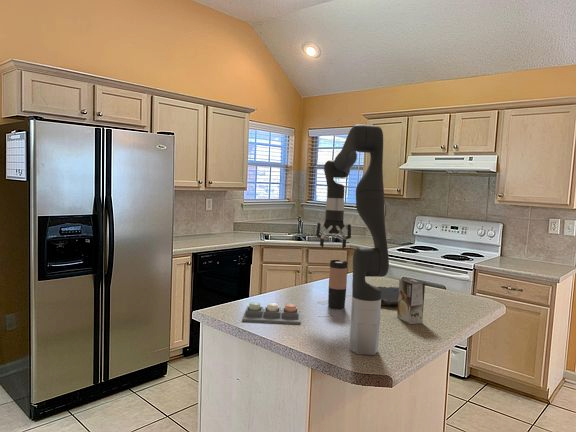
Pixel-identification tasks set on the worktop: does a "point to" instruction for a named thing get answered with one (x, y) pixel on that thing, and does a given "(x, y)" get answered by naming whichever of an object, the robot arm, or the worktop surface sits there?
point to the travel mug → (337, 284)
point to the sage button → (254, 306)
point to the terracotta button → (290, 308)
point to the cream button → (272, 307)
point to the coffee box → (411, 301)
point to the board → (389, 296)
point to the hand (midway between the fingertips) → (332, 248)
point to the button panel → (272, 316)
